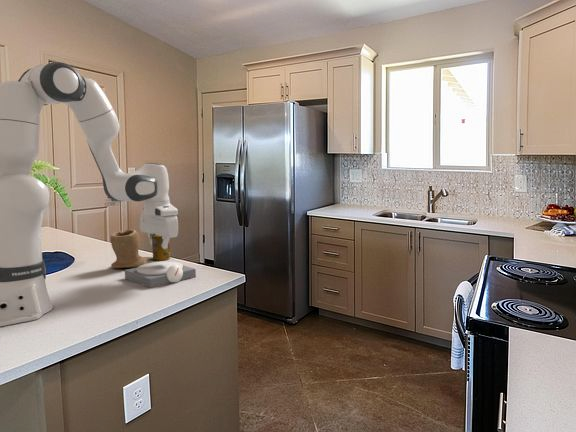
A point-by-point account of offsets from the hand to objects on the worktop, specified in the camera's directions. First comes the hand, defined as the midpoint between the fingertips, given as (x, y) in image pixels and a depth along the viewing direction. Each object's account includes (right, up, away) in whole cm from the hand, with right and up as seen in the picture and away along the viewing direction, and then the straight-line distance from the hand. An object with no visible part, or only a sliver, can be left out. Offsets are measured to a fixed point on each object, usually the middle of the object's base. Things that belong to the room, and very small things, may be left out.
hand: (159, 247), depth 157 cm
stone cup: (-16, -9, +17) cm, 25 cm away
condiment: (0, -5, +1) cm, 5 cm away
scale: (0, -11, +1) cm, 11 cm away
